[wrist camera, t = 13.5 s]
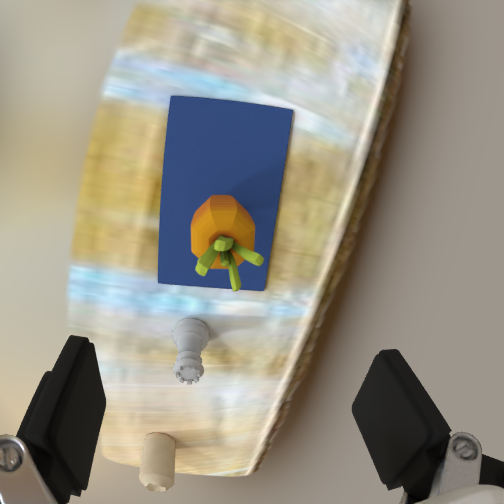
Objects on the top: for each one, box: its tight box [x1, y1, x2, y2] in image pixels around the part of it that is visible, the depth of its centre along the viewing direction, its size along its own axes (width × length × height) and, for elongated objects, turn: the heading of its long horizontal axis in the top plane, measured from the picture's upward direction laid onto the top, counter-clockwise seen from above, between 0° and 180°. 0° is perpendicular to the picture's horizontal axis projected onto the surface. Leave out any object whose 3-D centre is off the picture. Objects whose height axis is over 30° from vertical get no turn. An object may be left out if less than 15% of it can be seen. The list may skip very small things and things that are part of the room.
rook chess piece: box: [172, 319, 209, 384], centre depth 35 cm, size 4×4×8 cm
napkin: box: [158, 96, 293, 291], centre depth 33 cm, size 20×12×1 cm, turn 172°
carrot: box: [191, 195, 264, 292], centre depth 26 cm, size 5×5×15 cm
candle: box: [139, 433, 176, 492], centre depth 42 cm, size 6×6×10 cm
